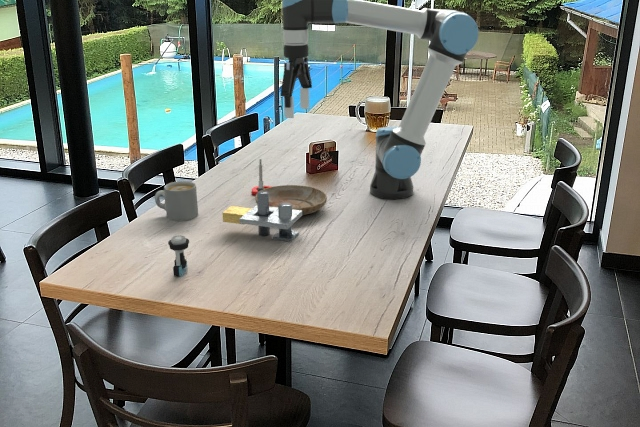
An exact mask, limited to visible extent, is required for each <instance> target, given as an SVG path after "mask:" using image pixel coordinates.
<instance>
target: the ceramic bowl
mask: <svg viewBox="0 0 640 427" xmlns="http://www.w3.org/2000/svg"><path fill="white" fill-rule="evenodd" d="M261 191H267V192H269V207H276V208H278V204H280V203H291V204H292V209H294V210H302V216H307V215H310V214H312V213H316V212H317V211H319V210H321V209H322V208H323V207H324V206H325V205H326V204H327V200H328V196H327V194H326V193H325V191H322V190H321V189H318V188H315V187H312V186H307V185H298V184H286V185H276V186H275V185H274V186H272V187H269V188H266V189H263V190H261ZM254 196H255V198H254V199H255V203H256V204H257V194H256V195H254Z"/></svg>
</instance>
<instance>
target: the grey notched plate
mask: <svg viewBox="0 0 640 427" xmlns="http://www.w3.org/2000/svg"><path fill="white" fill-rule="evenodd" d="M302 216H303V215H302V210H294V209H292V204H291V203H280V204H278V208H276V207H269V217H262V216H258V206H257V204H256V205H255V206H253V207H243V206H236V205H234V206H233V205H230V207H228V208H226V209H225V210H224V211H222V223H230V224H236V225H237V224H238V225H249V226H257V227H258V226H264V227H270V228H271V229H273V228H274V229H278V231H277V232H276V233H275V234H274V235H272V240H277V241H283V242H284V241H285V242H291V243H292V242H293V241H294V240H295V239H296V238H297V237H298V236H299V235H300V231H295V230H293V225H294V224H295V223H296V222H297V221H298V220H299V219H300V218H301V217H302Z"/></svg>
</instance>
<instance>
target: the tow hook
mask: <svg viewBox="0 0 640 427" xmlns="http://www.w3.org/2000/svg"><path fill="white" fill-rule="evenodd" d="M262 160H263V159H262V158H259V160H258V161H259V162H258V163H259V165H258V185H257V186H253V187H252V188H251V195H252V196H256V194H257V192H259V191H261V190H263V189H266V188H269V187H273V186H272V185H264V180H263V162H262Z"/></svg>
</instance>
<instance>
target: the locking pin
mask: <svg viewBox="0 0 640 427" xmlns="http://www.w3.org/2000/svg"><path fill="white" fill-rule="evenodd" d="M256 205H257V206H258V216H262V217H269V192H267V191H259V192H257V203H256ZM257 227H258V229H257V230H258V236H261V237H267V236H270V235H271V227H264V226H257Z"/></svg>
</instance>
